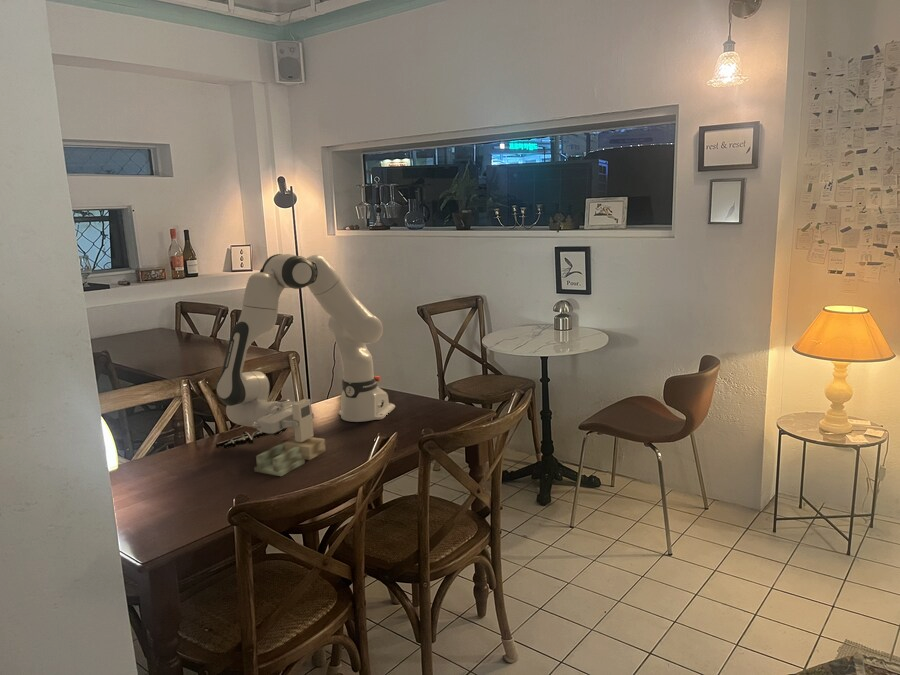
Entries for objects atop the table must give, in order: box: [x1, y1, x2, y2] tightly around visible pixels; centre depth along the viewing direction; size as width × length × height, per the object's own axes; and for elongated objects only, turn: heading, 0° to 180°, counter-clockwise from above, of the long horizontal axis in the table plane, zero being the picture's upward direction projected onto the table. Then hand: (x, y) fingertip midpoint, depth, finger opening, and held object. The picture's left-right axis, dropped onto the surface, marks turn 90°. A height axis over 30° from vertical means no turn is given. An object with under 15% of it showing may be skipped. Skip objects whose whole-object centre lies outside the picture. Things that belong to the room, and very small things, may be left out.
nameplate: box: [215, 428, 288, 449], centre depth 231 cm, size 28×2×10 cm
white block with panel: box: [292, 398, 314, 442], centre depth 212 cm, size 6×3×12 cm, turn 154°
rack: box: [253, 443, 306, 477], centre depth 203 cm, size 11×10×5 cm
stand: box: [282, 436, 326, 461], centre depth 214 cm, size 8×10×4 cm
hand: (305, 420), depth 212 cm, fingers closed on white block with panel, 6 cm apart
